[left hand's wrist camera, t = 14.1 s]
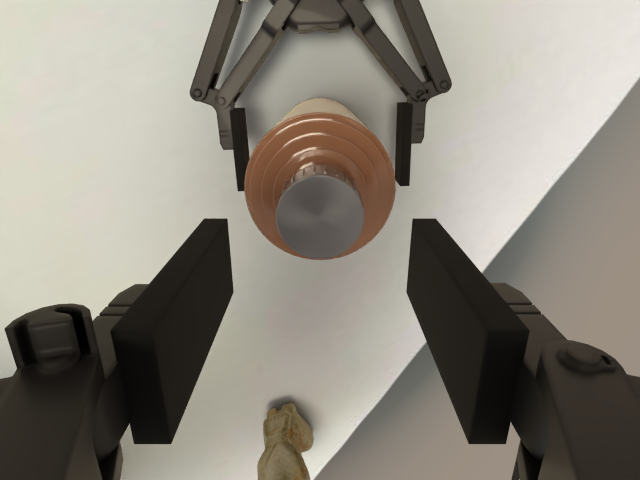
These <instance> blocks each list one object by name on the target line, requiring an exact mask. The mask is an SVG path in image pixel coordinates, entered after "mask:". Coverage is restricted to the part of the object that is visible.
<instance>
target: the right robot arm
mask: <svg viewBox="0 0 640 480" xmlns="http://www.w3.org/2000/svg"><path fill="white" fill-rule="evenodd" d="M248 1H249V0H219V3H218V6H217V9H216V12H215V15H214V18H213V21H212V24H211V27H210V31H209V34H208V37H207V40H206V43H205V46H204V49H203V52H202V55H201V58H200V61H199V64H198V67H197V70H196V73H195V77H194V80H193V83H192V86H191V89H190V96H191V97H192V99H193V100H195V101H200V102H203V103H206V104H209V105H211V106H213V107H214V108H215V110H216V112H217V119H218V128H219V136H220V144H221V146H222V148H223V150H231V149H233V150H234V159H235V169H236V178H237V188H238V191H245V174H246V170H247V166H248V162H249V160H250V159H249V148H248V138H247V127H246V116H245V108H235V102H236V101H237V100H238V98H239V97H240V95H241V94H242V92H243V91H244V89H245V88H246V86H247V85H248V83H249V82H250V81H251V79H252V78H253V76H254V75H255V73H256V72H257V70H258V69H259V67H260V66H261V64H262V63H263V62H264V60H265V59H266V57H267V56H268V54H269V53H270V51H271V50H272V48H273V47H274V45H275V44H276V43H277V41H278V40H279V39H280V38H281V37H282V35H283V34H284V32H285V31H286V29H287V28H288V26H289V28H291V29H292V30H294V31H296V32H299V34H300V33H311V32H314V31H317V30H321V31H325V32H339V31H340V30H342V29H344V28H345V27H346V26H347V25H348V24H349V26H350V27H351V28H352V29H353V31H354V32H355V33H356V34H357V36H358V37H360V38H361V40H362V41H363V42H364V43H365V45H366V46H367V47H368V49H369V50H370V51H371V52H372V54H373V55H374V56H375V57H376V59H377V60H378V61H379V63H380V64H381V65H382V66H383V68H384V69H385V70H386V71H387V73H388V74H389V75H390V77H391V78H392V79H393V80H394V82H395V83H396V84H397V85H398V87H399V88H400V89H401V91H402V92H403V93H404V94H405V96H406V97H407V102H401V103H397V127H396V157H395V180H396V181H397V182H398V184H399V185H400V186H409V180H410V158H411V143H421V142H422V140H423V138H424V127H425V125H424V124H425V109H426V103H427V101H428V100H429V99H430V98H432V97H434V96H436V95H439V94H441V93H445V92H447V91H449V90H450V88H451V85H452V83H451V79H450V77H449V74H448V72H447V69H446V67H445V64H444V62H443V59H442V57H441V54H440V52H439V49H438V47H437V44H436V42H435V39H434V36H433V34H432V31H431V29H430V26H429V24H428V21H427V19H426V16H425V14H424V11H423V9H422V6H421V4H420V1H419V0H394V4H395V8H396V10H397V13H398V15H399V18H400V20H401V22H402V25H403V27H404V30H405V32H406V34H407V37H408V39H409V42H410V44H411V46H412V49H413V51H414V54H415V56H416V58H417V61H418V63H419V65H420V68H421V70H422V73H423V75H424V77H425V80H426V81H425V82H423V83H421V81H420V80H419V79H418V77H417V76H416V75H415V73H414V72H413V71H412V69H411V68H410V67H409V66H408V64H407V63H406V62H405V60H404V59H403V58H402V56H401V55H400V54H399V52H398V51H397V50H396V49H395V47H394V46H393V45H392V43H391V42H390V41H389V39H388V38H387V37H386V35H385V34H384V33H383V31H382V30H381V29H380V28H379V26H378V25H377V24H376V22H375V20H374V18H373V16H372V15H371V14H370V12H369V11H368V10H367V8H366V7H365V6H364V4H363V3H362V2H363V1H364V0H270V2H271V3H272V5H273V8H272V9H271V11H270V12H269V14H268V15H267V17H266V18H265V20H264V21H263V23H262V26H261V28H260V29H259V31H258V32H257V34H256V35H255V37H254V38H253V40H252V41H251V43H250V44H249V46H248V48H247V49H246V51H245V52H244V54H243V55H242V57H241V58H240V60H239V61H238V63H237V64H236V66H235V67H234V69H233V70H232V72H231V73H230V75H229V76H228V78H227V79H226V81H225V82H224V84H223V85H222V87H221V88H220V90H218V89H215V87H216V84H217V81H218V78H219V75H220V72H221V69H222V67H223V64H224V61H225V58H226V55H227V52H228V49H229V46H230V43H231V40H232V38H233V35H234V32H235V29H236V26H237V23H238V20H239V17H240V14H241V10H242V3H243V2H248Z"/></svg>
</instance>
